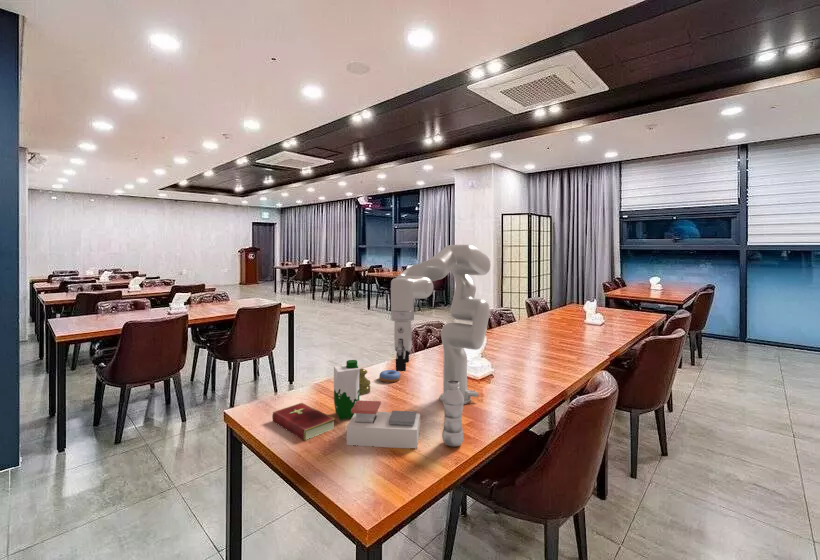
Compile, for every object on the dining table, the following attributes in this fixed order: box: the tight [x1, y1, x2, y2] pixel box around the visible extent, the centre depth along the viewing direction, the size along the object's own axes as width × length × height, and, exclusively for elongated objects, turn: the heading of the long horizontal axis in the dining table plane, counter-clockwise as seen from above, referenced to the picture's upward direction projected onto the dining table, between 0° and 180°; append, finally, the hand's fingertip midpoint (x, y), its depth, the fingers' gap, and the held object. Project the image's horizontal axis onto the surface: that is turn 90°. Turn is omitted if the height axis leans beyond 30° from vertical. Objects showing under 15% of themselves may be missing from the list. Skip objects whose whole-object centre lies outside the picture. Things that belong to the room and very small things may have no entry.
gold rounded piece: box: [359, 368, 371, 395], centre depth 166 cm, size 7×7×10 cm
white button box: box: [346, 411, 421, 450], centre depth 125 cm, size 22×12×6 cm, turn 84°
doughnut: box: [379, 369, 401, 384], centre depth 182 cm, size 10×10×5 cm
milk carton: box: [333, 359, 361, 421], centre depth 142 cm, size 9×9×20 cm
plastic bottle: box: [441, 380, 465, 448], centre depth 120 cm, size 6×7×20 cm
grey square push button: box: [389, 410, 418, 425], centre depth 124 cm, size 8×8×6 cm
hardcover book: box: [271, 402, 336, 442], centre depth 134 cm, size 12×21×4 cm, turn 47°
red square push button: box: [351, 399, 382, 423], centre depth 125 cm, size 8×8×6 cm
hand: (402, 366), depth 128 cm, fingers open, 9 cm apart
